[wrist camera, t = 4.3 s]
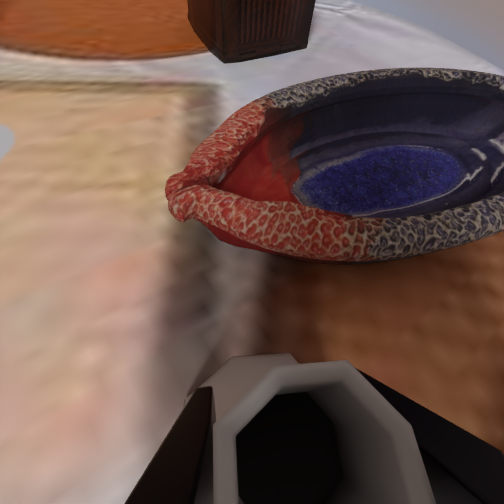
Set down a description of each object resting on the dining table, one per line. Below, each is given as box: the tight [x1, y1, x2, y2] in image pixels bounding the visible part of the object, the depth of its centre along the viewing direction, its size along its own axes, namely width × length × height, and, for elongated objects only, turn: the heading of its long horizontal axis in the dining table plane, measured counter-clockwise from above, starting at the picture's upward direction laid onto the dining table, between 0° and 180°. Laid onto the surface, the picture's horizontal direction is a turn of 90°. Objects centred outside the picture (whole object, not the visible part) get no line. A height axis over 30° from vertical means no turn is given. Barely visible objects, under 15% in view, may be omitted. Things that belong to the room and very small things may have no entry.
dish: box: [165, 68, 504, 265], centre depth 19 cm, size 16×31×5 cm, turn 108°
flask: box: [184, 353, 436, 504], centre depth 8 cm, size 7×7×10 cm
